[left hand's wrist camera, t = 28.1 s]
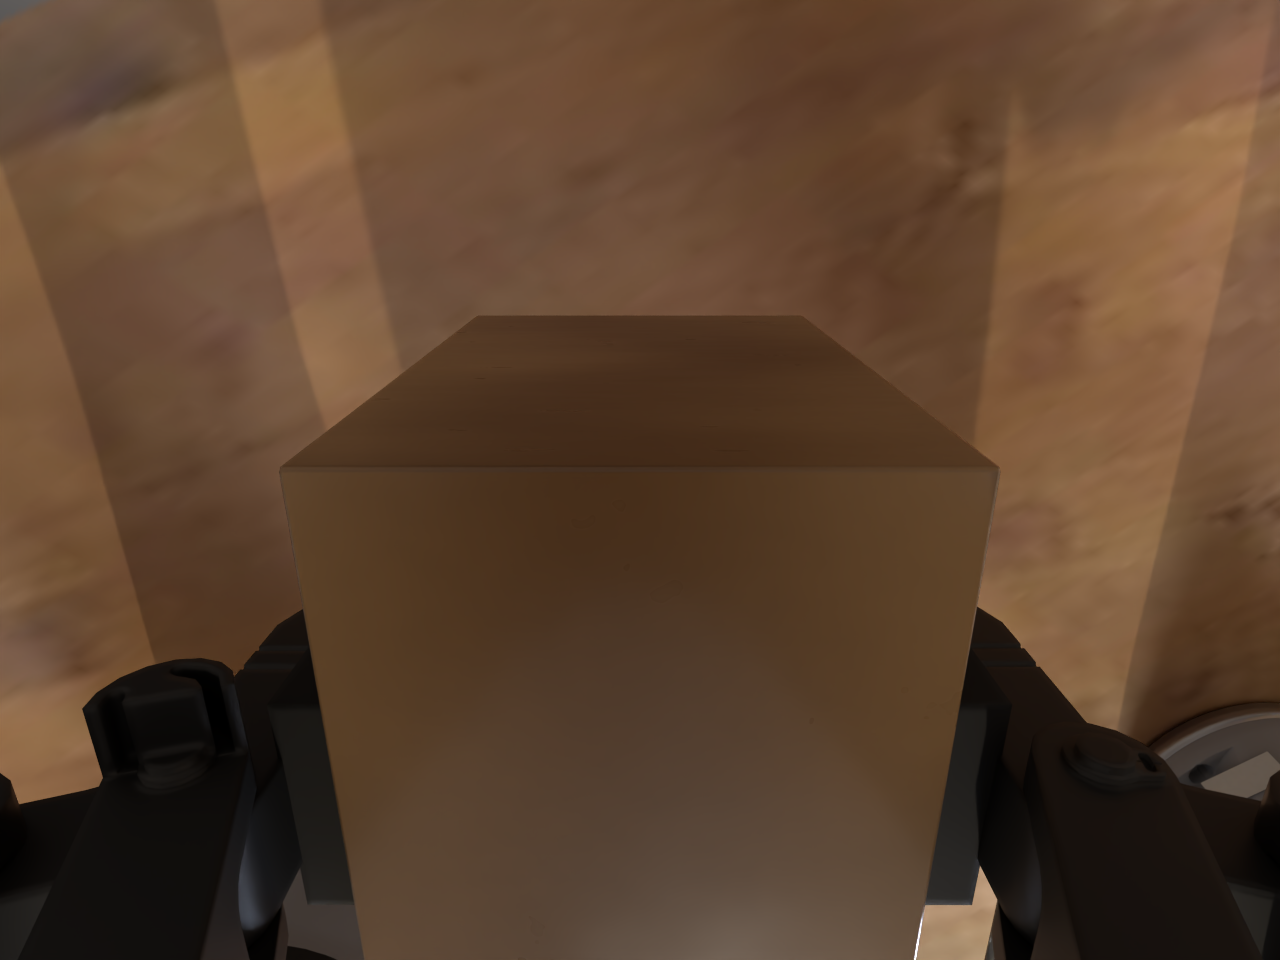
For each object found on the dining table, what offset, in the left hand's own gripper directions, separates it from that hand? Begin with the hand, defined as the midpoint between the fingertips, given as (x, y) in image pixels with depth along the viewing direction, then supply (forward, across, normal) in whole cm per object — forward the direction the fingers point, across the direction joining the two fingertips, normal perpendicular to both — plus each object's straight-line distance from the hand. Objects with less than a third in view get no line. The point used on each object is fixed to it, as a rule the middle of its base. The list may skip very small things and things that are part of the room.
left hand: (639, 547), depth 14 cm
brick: (+1, 0, 0) cm, 1 cm away
